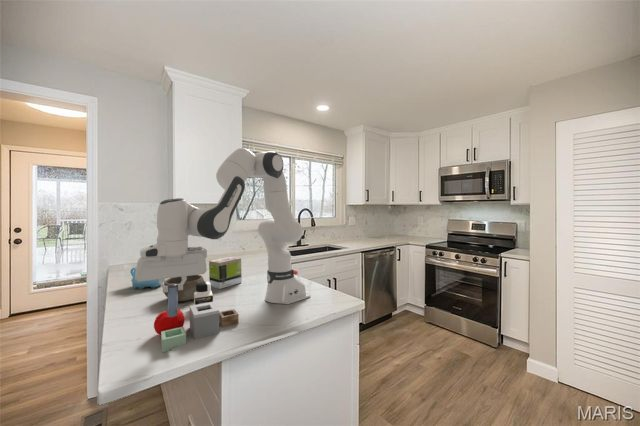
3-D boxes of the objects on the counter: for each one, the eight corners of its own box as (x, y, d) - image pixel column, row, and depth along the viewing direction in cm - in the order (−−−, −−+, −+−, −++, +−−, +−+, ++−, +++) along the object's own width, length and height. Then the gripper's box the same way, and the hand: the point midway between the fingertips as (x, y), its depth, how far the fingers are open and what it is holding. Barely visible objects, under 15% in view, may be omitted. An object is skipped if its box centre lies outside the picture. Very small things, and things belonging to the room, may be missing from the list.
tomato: (148, 340, 90) (148, 316, 90) (164, 327, 101) (164, 304, 100) (177, 340, 91) (176, 315, 91) (190, 326, 101) (189, 304, 101)
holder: (233, 320, 107) (233, 308, 107) (238, 325, 102) (238, 314, 102) (218, 323, 104) (218, 312, 104) (222, 329, 99) (222, 317, 99)
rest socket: (183, 338, 92) (183, 326, 92) (186, 346, 87) (186, 334, 87) (161, 343, 89) (161, 331, 89) (162, 352, 83) (162, 339, 83)
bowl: (155, 301, 128) (155, 280, 127) (189, 290, 143) (189, 272, 143) (179, 307, 120) (178, 285, 119) (211, 296, 135) (211, 276, 135)
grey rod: (177, 313, 89) (177, 283, 89) (177, 315, 87) (178, 285, 87) (167, 314, 88) (167, 284, 88) (168, 317, 85) (168, 286, 85)
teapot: (138, 293, 139) (138, 267, 139) (126, 286, 149) (126, 262, 149) (174, 285, 154) (174, 261, 153) (162, 279, 164) (162, 257, 163)
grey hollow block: (212, 324, 103) (212, 301, 102) (219, 335, 94) (219, 310, 94) (189, 330, 98) (189, 305, 98) (194, 341, 90) (194, 315, 90)
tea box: (231, 280, 164) (231, 256, 164) (242, 283, 158) (241, 258, 158) (208, 286, 152) (208, 260, 152) (219, 289, 146) (219, 262, 146)
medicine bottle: (194, 314, 113) (194, 285, 113) (194, 308, 119) (194, 281, 119) (213, 311, 116) (213, 283, 116) (211, 305, 122) (211, 279, 122)
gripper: (205, 245, 95) (205, 283, 96) (135, 249, 84) (135, 293, 84) (208, 247, 90) (208, 288, 90) (134, 252, 79) (135, 299, 79)
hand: (172, 290), depth 87 cm, fingers closed on grey rod, 3 cm apart
